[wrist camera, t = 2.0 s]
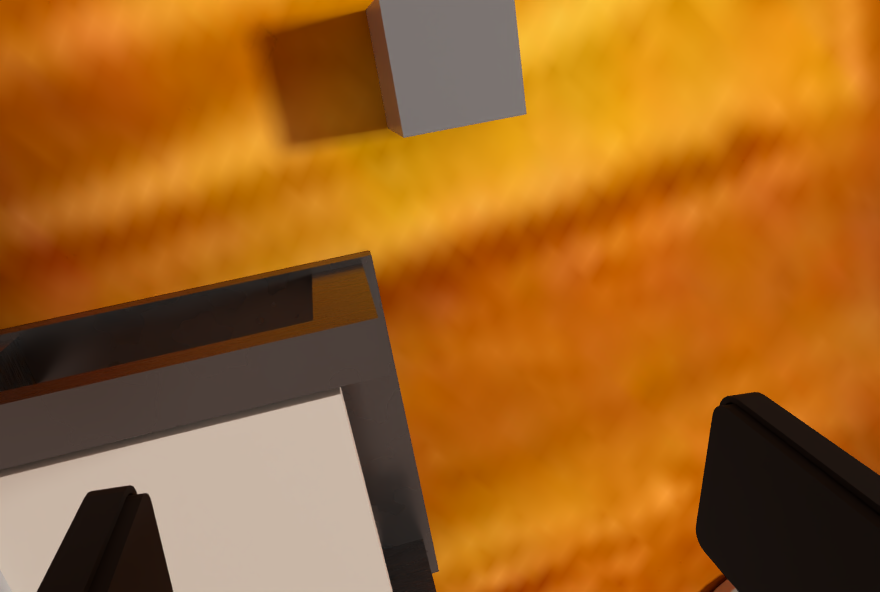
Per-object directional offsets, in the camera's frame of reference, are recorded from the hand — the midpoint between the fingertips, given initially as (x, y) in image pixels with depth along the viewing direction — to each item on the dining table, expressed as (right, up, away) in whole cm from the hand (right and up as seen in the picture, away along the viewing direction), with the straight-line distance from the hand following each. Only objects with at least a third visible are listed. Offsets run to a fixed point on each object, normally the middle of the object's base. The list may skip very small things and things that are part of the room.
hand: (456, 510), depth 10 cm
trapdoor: (-12, -8, +16) cm, 22 cm away
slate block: (-1, +14, +18) cm, 23 cm away
